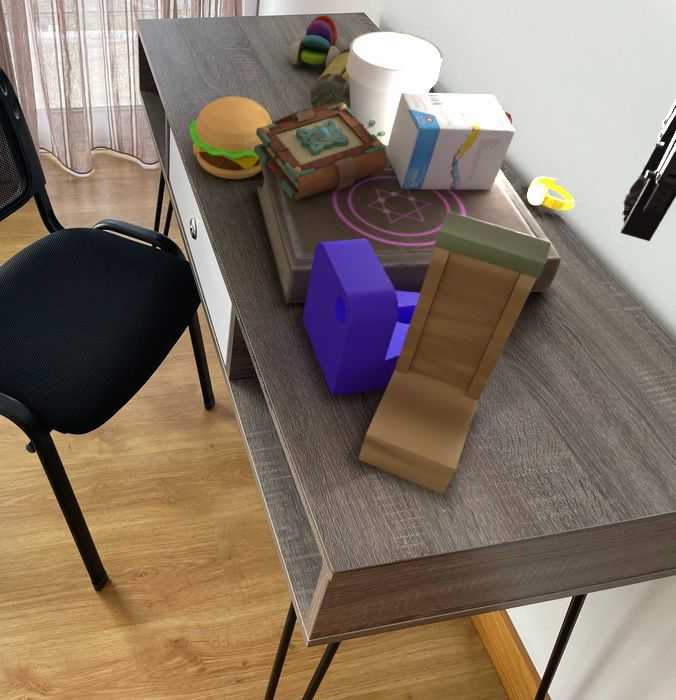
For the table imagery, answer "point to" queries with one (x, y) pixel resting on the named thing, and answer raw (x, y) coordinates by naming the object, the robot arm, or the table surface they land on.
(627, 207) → the wristwatch
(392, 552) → the table surface
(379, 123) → the cup
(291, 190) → the decorative book
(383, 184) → the book
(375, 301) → the bracket
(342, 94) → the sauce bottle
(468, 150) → the ink box
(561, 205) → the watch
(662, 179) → the robot arm
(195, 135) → the hamburger
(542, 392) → the table surface
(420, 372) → the two-tone angled block
